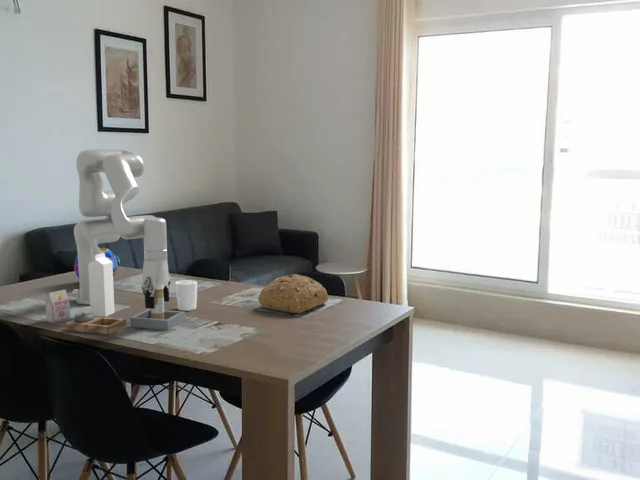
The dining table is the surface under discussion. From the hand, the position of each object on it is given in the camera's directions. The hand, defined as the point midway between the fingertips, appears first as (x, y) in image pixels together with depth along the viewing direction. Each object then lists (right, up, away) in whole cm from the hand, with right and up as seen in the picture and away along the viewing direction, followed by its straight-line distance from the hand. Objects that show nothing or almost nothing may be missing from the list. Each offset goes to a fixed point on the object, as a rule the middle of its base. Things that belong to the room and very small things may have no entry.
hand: (157, 304), depth 222 cm
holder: (-19, -7, -5) cm, 21 cm away
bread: (+46, -3, +25) cm, 52 cm away
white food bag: (-36, -6, +6) cm, 37 cm away
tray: (0, -7, +1) cm, 7 cm away
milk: (-23, -5, +13) cm, 26 cm away
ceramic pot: (-42, +3, +62) cm, 75 cm away
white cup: (+6, -4, +21) cm, 22 cm away
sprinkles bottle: (0, -6, +1) cm, 6 cm away
